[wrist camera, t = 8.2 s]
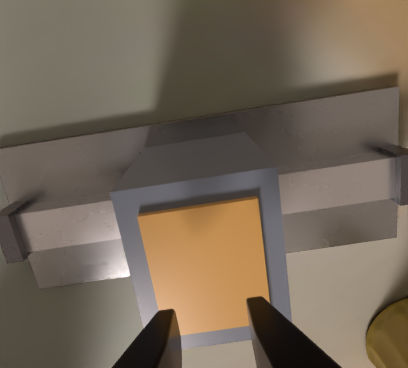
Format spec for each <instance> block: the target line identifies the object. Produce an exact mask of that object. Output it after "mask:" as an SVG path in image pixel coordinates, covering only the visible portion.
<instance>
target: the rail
mask: <svg viewBox="0 0 408 368" xmlns="http://www.w3.org/2000/svg"><path fill="white" fill-rule="evenodd" d="M242 132H245V133H246V134H247V135H248V136H249V137H250V138H251V139H252V140H253V141H254V142H255V143H256V144H257V145H258V146H259V148H260V149H261V150H262V151H263V152H264V153H265V154H266V155H267V156H268V157H269V158H270V159H271V160H272V161H273V163H274V164H275V165H276V166H277V168H278V179H279V189H280V200H281V211H282V222H283V232H284V243H285V254H286V253H292V252H299V251H306V250H313V249H320V248H327V247H334V246H341V245H348V244H355V243H361V242H368V241H375V240H382V239H389V238H396V237H397V204H399V205H400V206H401V205H408V149H406V148H403V147H400V146H398V136H399V86H391V87H385V88H378V89H372V90H366V91H359V92H353V93H347V94H340V95H334V96H327V97H321V98H315V99H308V100H302V101H296V102H289V103H283V104H276V105H270V106H264V107H257V108H251V109H245V110H238V111H232V112H225V113H219V114H213V115H206V116H200V117H194V118H187V119H181V120H174V121H168V122H162V123H155V124H149V125H143V126H136V127H130V128H123V129H117V130H111V131H104V132H98V133H92V134H85V135H79V136H72V137H66V138H60V139H53V140H47V141H41V142H34V143H28V144H21V145H15V146H9V147H2V148H0V177H1V180H2V183H3V186H4V189H5V192H6V195H7V198H8V201H9V203H10V205H9V206H8V207H6V208H4V209H3V210H1V211H0V245H1V248H2V251H3V253H4V256H5V259H6V261H7V264H8V263H14V262H21V261H24V260H25V259H26V258H27V257H28V259H29V262H30V264H31V267H32V270H33V273H34V276H35V279H36V282H37V285H38V288H39V289H44V288H51V287H58V286H65V285H72V284H79V283H86V282H93V281H99V280H106V279H113V278H120V277H127V276H130V272H129V268H128V264H127V260H126V256H125V252H124V248H123V244H122V240H121V236H120V232H119V228H118V224H117V220H116V216H115V212H114V208H113V204H112V200H111V196H110V191H111V190H112V189H113V188H114V186H115V185H116V184H117V183H118V181H119V180H120V179H121V177H122V176H123V175H124V174H125V172H126V171H127V170H128V169H129V167H130V166H131V165H132V163H133V162H134V161H135V160H136V158H137V157H138V156H139V155H140V153H141V152H142V151H143V149H144V148H146V147H153V146H159V145H165V144H172V143H178V142H184V141H191V140H197V139H204V138H210V137H216V136H223V135H229V134H235V133H242Z"/></svg>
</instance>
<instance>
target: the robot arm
mask: <svg viewBox="0 0 408 368" xmlns="http://www.w3.org/2000/svg"><path fill="white" fill-rule="evenodd" d="M246 306H247V313H248V320H249V327H250V333H251V339H252V344H253V350H254V355H255V360H256V365H257V368H342V367H341V366H339V365H338V364H337V363H336V362H335V361H334V360H333V359H332V358H331V357H329V356H328V355H327V354H326V353H325V352H324V351H323V350H322V349H320V348H319V347H318V346H317V345H316V344H315V343H314V342H313V341H312V340H310V339H309V338H308V337H307V336H306V335H305V334H304V333H303V332H302V331H300V330H299V329H298V328H297V327H296V326H295V325H294V324H293V323H292V322H290V321H289V320H288V319H287V318H286V317H285V316H284V315H283V314H281V313H280V312H279V311H278V310H277V309H276V308H275V307H274V306H273V305H271V304H270V303H269V302H268V301H267V300H266V299H265V298H264V297H262V296H257V297H250V298H247V299H246ZM112 368H182V347H181V335H180V330H179V326H178V321H177V316H176V312H175V310H174V309H165V310H159V311H158V312H157V313H156V314H155V315H154V316H153V318H152V319H151V320H150V321H149V323H148V324H147V325H146V326H145V327H144V329H143V330H142V331H141V332H140V334H139V335H138V336H137V337H136V339H135V340H134V341H133V342H132V343H131V345H130V346H129V347H128V348H127V350H126V351H125V352H124V353H123V354H122V356H121V357H120V358H119V359H118V361H117V362H116V363H115V364H114V366H113V367H112Z"/></svg>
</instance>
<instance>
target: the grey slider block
mask: <svg viewBox="0 0 408 368" xmlns="http://www.w3.org/2000/svg"><path fill="white" fill-rule="evenodd" d="M110 196H111V200H112V204H113V208H114V212H115V216H116V220H117V224H118V228H119V232H120V236H121V240H122V244H123V248H124V252H125V256H126V260H127V264H128V268H129V272H130V276H131V280H132V284H133V288H134V292H135V296H136V300H137V304H138V308H139V312H140V316H141V320H142V324H143V328H144V327H145V326H146V325H147V324H148V323H149V321H150V320H151V319H152V318H153V316H154V315H155V314H156V313H157V312H158V311H159V310H165V309H174V310H175V312H176V316H177V321H178V326H179V330H180V335H181V347H182V349H188V348H196V347H203V346H210V345H217V344H224V343H231V342H238V341H246V340H252V339H251V333H250V327H249V320H248V313H247V306H246V299H247V298H250V297H257V296H262V297H264V298H265V299H266V300H267V301H268V302H269V303H270V304H271V305H273V306H274V307H275V308H276V309H277V310H278V311H279V312H280V313H281V314H283V315H284V316H285V317H286V318H287V319H288V320H289V321H290V322H292V319H291V308H290V297H289V286H288V275H287V265H286V254H285V243H284V232H283V222H282V211H281V200H280V189H279V179H278V168H277V166H276V165H275V164H274V163H273V161H272V160H271V159H270V158H269V157H268V156H267V155H266V154H265V153H264V152H263V151H262V150H261V149H260V148H259V146H258V145H257V144H256V143H255V142H254V141H253V140H252V139H251V138H250V137H249V136H248V135H247V134H246V133H245V132H242V133H235V134H229V135H223V136H216V137H210V138H204V139H197V140H191V141H184V142H178V143H172V144H165V145H159V146H153V147H146V148H144V149H143V151H142V152H141V153H140V155H139V156H138V157H137V158H136V160H135V161H134V162H133V163H132V165H131V166H130V167H129V169H128V170H127V171H126V172H125V174H124V175H123V176H122V177H121V179H120V180H119V181H118V183H117V184H116V185H115V186H114V188H113V189H112V190H111V191H110Z"/></svg>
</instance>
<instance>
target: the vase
mask: <svg viewBox="0 0 408 368" xmlns="http://www.w3.org/2000/svg"><path fill="white" fill-rule="evenodd" d="M366 350H367V354H368V358H369V360H370V361H371V362H372V363H373V365H374V366H375V367H376V368H408V298H406V299H403V300H400V301H397V302H395V303H393V304H391V305H389V306H388V307H387V308H385V309H384V310H383V311H382V312H381V313H380V314H379V315H378V316H377V317H376V318H375V319H374V321H373V322H372V324H371V326H370V327H369V330H368V332H367V336H366Z"/></svg>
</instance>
